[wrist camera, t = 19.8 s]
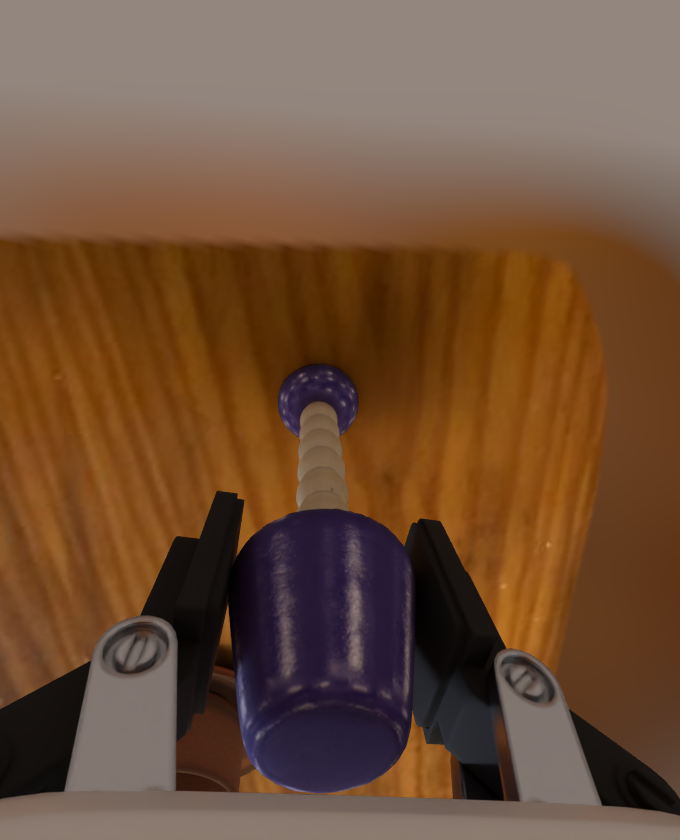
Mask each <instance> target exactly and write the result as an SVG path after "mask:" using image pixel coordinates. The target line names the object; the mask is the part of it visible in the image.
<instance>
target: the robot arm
mask: <svg viewBox="0 0 680 840" xmlns="http://www.w3.org/2000/svg"><path fill="white" fill-rule="evenodd" d="M243 507H244V500H241V499H237V493H230V492H222V491H217V492H216V495H215V498H214V500H213V503H212V506H211V509H210V511H209V514H208V517H207V520H206V522H205V525H204V528H203V531H202V533H201V536H200V539H197V538H188V537H180V536H177V537H176V538H175V539H174V541H173V543H172V546H171V548H170V550H169V552H168V555H167V557H166V559H165V561H164V564H163V566H162V568H161V570H160V572H159V575H158V577H157V579H156V581H155V584H154V586H153V588H152V590H151V593H150V595H149V597H148V599H147V601H146V604H145V606H144V608H143V610H142V613H141V615H140V616H136V617H132V618H127V619H125V620H123V621H121V622H118V623H116V624H115V625H113V626H112V627H111V628H109V629H108V630H107V631H105V633H104V634H103V635H102V636H101V637H100V639H99V640H98V641H97V644H96V646H95V649H94V651H93V655H92V660H91V661H89V662H88V663H86V664H84V665H82V666H80V667H78V668H76V669H75V670H73V671H71V672H69V673H67V674H65V675H63V676H62V677H60V678H58V679H56V680H54V681H52V682H50V683H49V684H47V685H45V686H43V687H41V688H39V689H37V690H36V691H34V692H32V693H30V694H28V695H26V696H24V697H23V698H21V699H19V700H17V701H15V702H13V703H11V704H10V705H8V706H6V707H4V708H2V709H0V840H680V799H679V797H678V796H677V794H676V793H675V791H674V790H673V789H672V788H671V787H670V786H669V785H668V784H667V782H665V780H664V779H663V778H661V777H660V776H659V775H658V774H657V773H655V772H654V771H653V770H652V769H651V768H649V767H648V766H647V765H645V764H644V763H642V762H641V761H640V760H638V759H637V758H636V757H634V756H633V755H632V754H630V753H629V752H627V751H626V750H625V749H623V748H622V747H621V746H619V745H618V744H616V743H615V742H613V741H612V740H611V739H610V738H608V737H607V736H605V735H604V734H603V733H601V732H600V731H598V730H597V729H596V728H594V727H593V726H592V725H590V724H589V723H587V722H586V721H585V720H583V719H582V718H581V717H579V716H578V715H576V714H575V713H574V712H572V711H571V710H570V709H568V706H567V704H566V701H565V698H564V695H563V692H562V689H561V687H560V685H559V683H558V681H557V679H556V677H555V676H554V675H553V673H552V672H551V671H550V669H549V668H548V667H546V666H545V665H544V664H543V663H542V662H541V661H540V660H538V659H537V658H535V657H534V656H532V655H530V654H528V653H526V652H523V651H521V650H517V649H506V647H505V645H504V643H503V641H502V639H501V637H500V635H499V633H498V631H497V629H496V627H495V625H494V623H493V621H492V619H491V617H490V615H489V613H488V611H487V609H486V607H485V605H484V603H483V601H482V599H481V597H480V595H479V593H478V591H477V589H476V587H475V585H474V583H473V581H472V579H471V577H470V576H469V574H468V573H467V572H466V571H465V569H464V567H463V565H462V563H461V561H460V559H459V557H458V555H457V553H456V551H455V549H454V547H453V545H452V543H451V541H450V539H449V537H448V535H447V533H446V531H445V529H444V527H443V525H442V523H441V522H440V521H436V520H429V519H419V521H418V522H417V523H412V525H411V527H410V530H409V534H408V537H407V540H406V543H405V546H404V548H405V549H406V551H407V553H408V555H409V557H410V560H411V563H412V566H413V570H414V575H415V583H416V616H415V656H414V681H413V707H412V710H413V714H414V718H415V722H416V724H417V726H419V727H423V731H424V735H425V739H426V743H427V744H442V745H445V748H446V749H447V750H448V751H449V752H450V753H451V759H450V762H451V777H452V791H453V799H436V798H406V797H376V796H345V795H313V794H276V793H238V792H201V791H176V742H177V741H178V740H180V739H181V738H182V737H183V736H185V735H186V733H187V731H190V730H191V725H192V721H193V717H194V714H204V711H205V707H206V702H207V698H208V693H209V688H210V684H211V679H212V675H213V670H214V665H215V661H216V656H217V651H218V647H219V642H220V637H221V633H222V628H223V624H224V619H225V614H226V610H227V605H228V587H229V581H230V575H231V570H232V567H233V564H234V561H235V559H236V554H237V547H238V541H239V534H240V527H241V521H242V514H243Z"/></svg>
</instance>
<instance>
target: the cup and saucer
mask: <svg viewBox="0 0 680 840" xmlns="http://www.w3.org/2000/svg"><path fill="white" fill-rule="evenodd" d="M254 769H256V768H255V766H254V765H253V764H252V763H251V761H250V760H249V758H248V756H247V753H246V750H245V747H244V743H243V740H242V735H241V729H240V721H239V713H238V703H237V694H236V685H235V675H234V671H233V670H230V669H228V668H224V667H220V666H216V665H214V670H213V675H212V679H211V684H210V688H209V693H208V698H207V702H206V707H205V711H204V714H194V717H193V721H192V725H191V730H190V731H187V733H186V735H185V736H183V737H182V738H181V739H180V740H178V741H177V742H176V791H201V792H238V793H239V783H240V777H241V776H243V775H246V774H247V773H249V772H251V771H253V770H254Z"/></svg>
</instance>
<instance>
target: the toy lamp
mask: <svg viewBox="0 0 680 840" xmlns="http://www.w3.org/2000/svg"><path fill="white" fill-rule="evenodd" d="M278 408H279V413H280V416H281V418H282V420H283V422H284V424H285V425H286V427H287V428H288V429H289V430H290V431H291V432H292V433H293V434H295V435H296V436H297V437H299V438H300V445H299V448H298V457H299V461H300V462H299V466H298V471H297V474H298V480H299V485H298V488H297V494H296V500H297V505H298V510H297V512H295V513H291V514H288V515H286V516H284V517H283V518H281V519H278V520H275V521H273V522H271V523H269V524H267V525H265V526H264V527H263V528H262V529H261V530H260V531H258V532H257V533H256V534H254V535H253V536H252V537H251V538H250V539H249V540H248V541H247V543H246V544H245V545H244V546H243V548H242V549H241V551H240V553H239V554H238V555H237V557H236V559H235V561H234V564H233V567H232V570H231V575H230V581H229V587H228V606H229V618H230V630H231V642H232V654H233V664H234V675H235V685H236V694H237V703H238V713H239V721H240V729H241V735H242V740H243V743H244V747H245V750H246V753H247V756H248V758H249V760H250V761H251V763H252V764H253V765H254V766H255V768H256V769H257V770H258V771H259V772H260V773H261V774H262V775H263V776H265V777H266V778H268V779H269V780H271V781H273V782H274V783H276V784H278V785H281V786H283V787H285V788H288V789H290V790H294V791H303V792H311V793H330V792H338V791H344V790H348V789H351V788H355V787H359V786H361V785H364V784H367V783H370V782H371V781H373V780H375V779H376V778H378V777H380V776H381V775H383V774H384V773H385V772H387V771H388V770H389V769H390V768H391V767H392V766H393V765H394V764H395V763H396V762H397V761H398V759H399V758H400V756H401V755H402V753H403V751H404V749H405V748H406V745H407V742H408V737H409V733H410V729H411V720H412V707H413V681H414V656H415V616H416V583H415V575H414V570H413V566H412V563H411V560H410V557H409V555H408V553H407V551H406V549H405V548H404V546H403V544H402V543H401V542H400V541H399V540H398V539H397V537H396V536H395V535H394V534H393V533H392V532H391V531H390V530H389V529H388V528H386V527H385V526H383V525H382V524H380V523H378V522H376V521H375V520H373V519H371V518H370V517H366V516H364V515H362V514H358V513H353V512H351V511H350V510H349V508H348V506H347V503H348V489H347V486H346V483H345V481H344V479H345V465H344V462H343V460H342V447H341V443H340V441H339V436H340V435H342V434H343V433H344V432H345V431H347V429H348V428H349V427H350V426H351V424H352V422H353V421H354V419H355V416H356V414H357V410H358V393H357V390H356V388H355V386H354V384H353V383H352V381H351V380H350V378H349V377H348V376H346V375H345V374H344V373H343V372H342V371H340V370H339V369H337V368H335V367H333V366H328V365H324V364H316V365H315V364H314V365H310V366H306V367H303V368H300V369H298V370H297V371H295V372H294V373H292V374H291V375H290V376H289V377H288V378H287V379H286V380H285V381H284V383H283V385H282V387H281V389H280V392H279V396H278Z"/></svg>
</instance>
